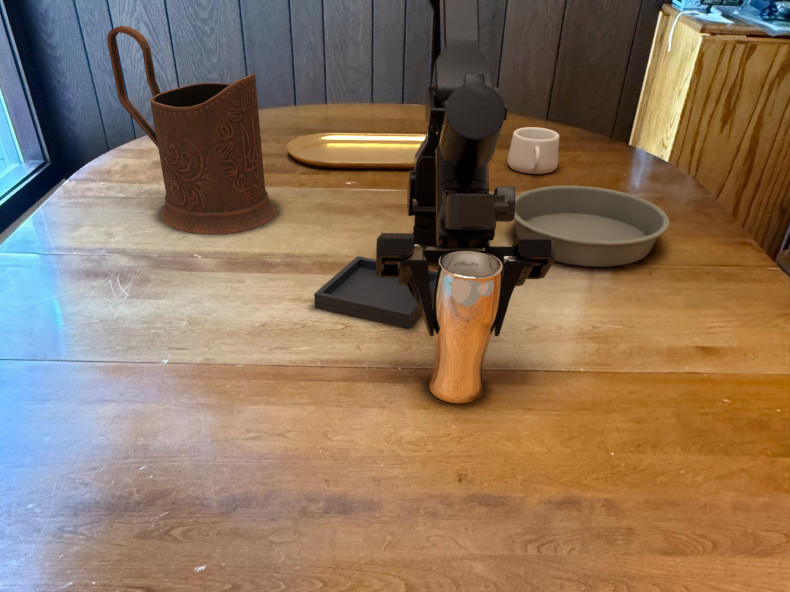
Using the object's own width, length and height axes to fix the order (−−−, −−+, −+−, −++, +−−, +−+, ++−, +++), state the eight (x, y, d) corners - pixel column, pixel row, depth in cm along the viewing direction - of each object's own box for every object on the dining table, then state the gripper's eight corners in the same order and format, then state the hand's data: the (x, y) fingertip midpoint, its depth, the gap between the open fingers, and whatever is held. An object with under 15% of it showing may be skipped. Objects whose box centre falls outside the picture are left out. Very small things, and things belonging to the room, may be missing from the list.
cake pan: (689, 268, 116) (697, 238, 113) (531, 276, 112) (535, 245, 109) (627, 209, 134) (633, 182, 131) (489, 214, 130) (492, 186, 127)
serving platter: (471, 172, 146) (472, 163, 145) (284, 170, 144) (284, 161, 143) (460, 142, 160) (460, 134, 159) (289, 140, 158) (289, 132, 157)
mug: (505, 158, 153) (509, 125, 149) (554, 160, 153) (559, 127, 149) (508, 178, 144) (512, 143, 140) (560, 180, 144) (566, 146, 140)
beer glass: (481, 410, 86) (501, 283, 76) (420, 400, 87) (431, 272, 76) (489, 377, 91) (508, 253, 81) (431, 368, 92) (442, 244, 81)
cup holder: (243, 241, 119) (222, 52, 102) (108, 218, 124) (67, 36, 108) (293, 201, 132) (282, 29, 115) (169, 182, 137) (141, 15, 121)
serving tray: (357, 269, 113) (357, 255, 111) (445, 287, 109) (446, 273, 108) (314, 307, 103) (313, 293, 102) (409, 328, 99) (409, 314, 98)
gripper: (377, 150, 75) (378, 309, 74) (567, 153, 76) (570, 310, 75) (375, 204, 86) (376, 343, 85) (541, 207, 87) (544, 344, 86)
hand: (464, 335), depth 83 cm, fingers closed on beer glass, 7 cm apart
